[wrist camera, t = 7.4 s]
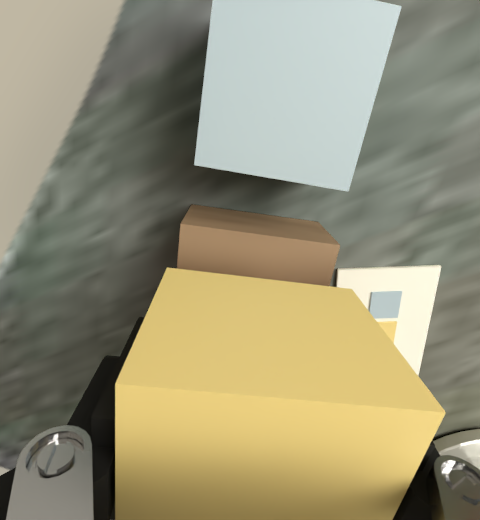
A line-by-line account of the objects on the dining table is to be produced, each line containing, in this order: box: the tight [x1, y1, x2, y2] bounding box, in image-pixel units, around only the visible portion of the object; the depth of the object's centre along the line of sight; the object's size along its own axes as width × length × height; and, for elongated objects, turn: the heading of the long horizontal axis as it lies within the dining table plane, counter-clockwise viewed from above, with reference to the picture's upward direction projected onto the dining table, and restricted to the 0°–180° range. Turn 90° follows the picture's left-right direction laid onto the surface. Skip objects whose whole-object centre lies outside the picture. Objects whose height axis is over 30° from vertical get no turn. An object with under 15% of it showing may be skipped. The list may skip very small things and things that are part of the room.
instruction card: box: [336, 265, 441, 375], centre depth 21 cm, size 9×6×1 cm, turn 2°
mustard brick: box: [115, 268, 446, 520], centre depth 9 cm, size 6×6×5 cm
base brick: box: [177, 204, 340, 286], centre depth 17 cm, size 7×7×4 cm
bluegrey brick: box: [194, 0, 401, 191], centre depth 14 cm, size 6×6×5 cm
